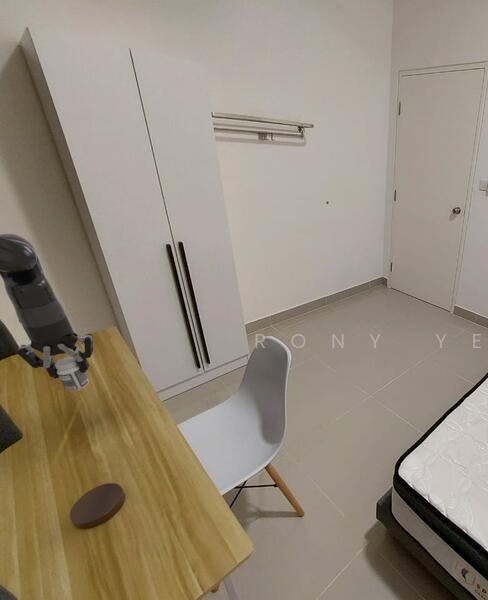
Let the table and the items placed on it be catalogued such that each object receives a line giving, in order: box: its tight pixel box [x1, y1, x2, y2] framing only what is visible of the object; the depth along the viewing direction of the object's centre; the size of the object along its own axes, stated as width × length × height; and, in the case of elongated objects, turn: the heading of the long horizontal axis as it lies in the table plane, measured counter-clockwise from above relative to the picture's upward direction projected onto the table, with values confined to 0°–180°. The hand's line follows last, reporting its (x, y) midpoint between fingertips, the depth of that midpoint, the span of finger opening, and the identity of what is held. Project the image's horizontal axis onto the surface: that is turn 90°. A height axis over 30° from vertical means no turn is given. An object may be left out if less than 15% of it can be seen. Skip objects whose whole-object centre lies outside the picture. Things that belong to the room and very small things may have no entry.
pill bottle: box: [54, 356, 90, 392], centre depth 86 cm, size 5×5×8 cm
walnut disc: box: [69, 482, 126, 530], centre depth 74 cm, size 9×9×2 cm
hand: (71, 373), depth 86 cm, fingers closed on pill bottle, 4 cm apart
